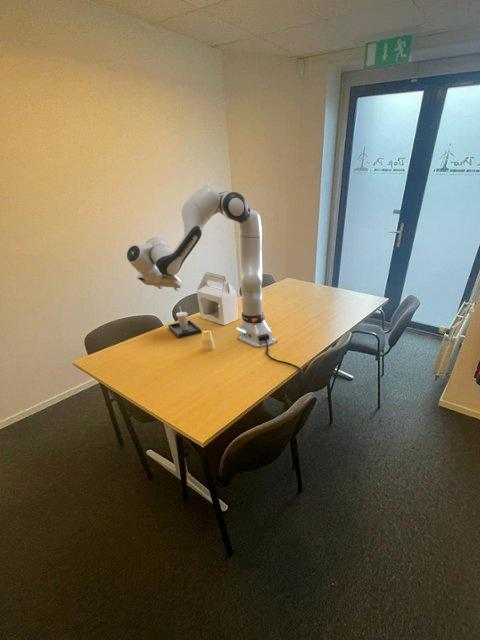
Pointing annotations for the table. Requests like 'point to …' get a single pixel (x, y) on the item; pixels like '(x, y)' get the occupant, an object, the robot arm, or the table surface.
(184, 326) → the smoothie
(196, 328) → the tray
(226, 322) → the gable box
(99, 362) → the table surface
